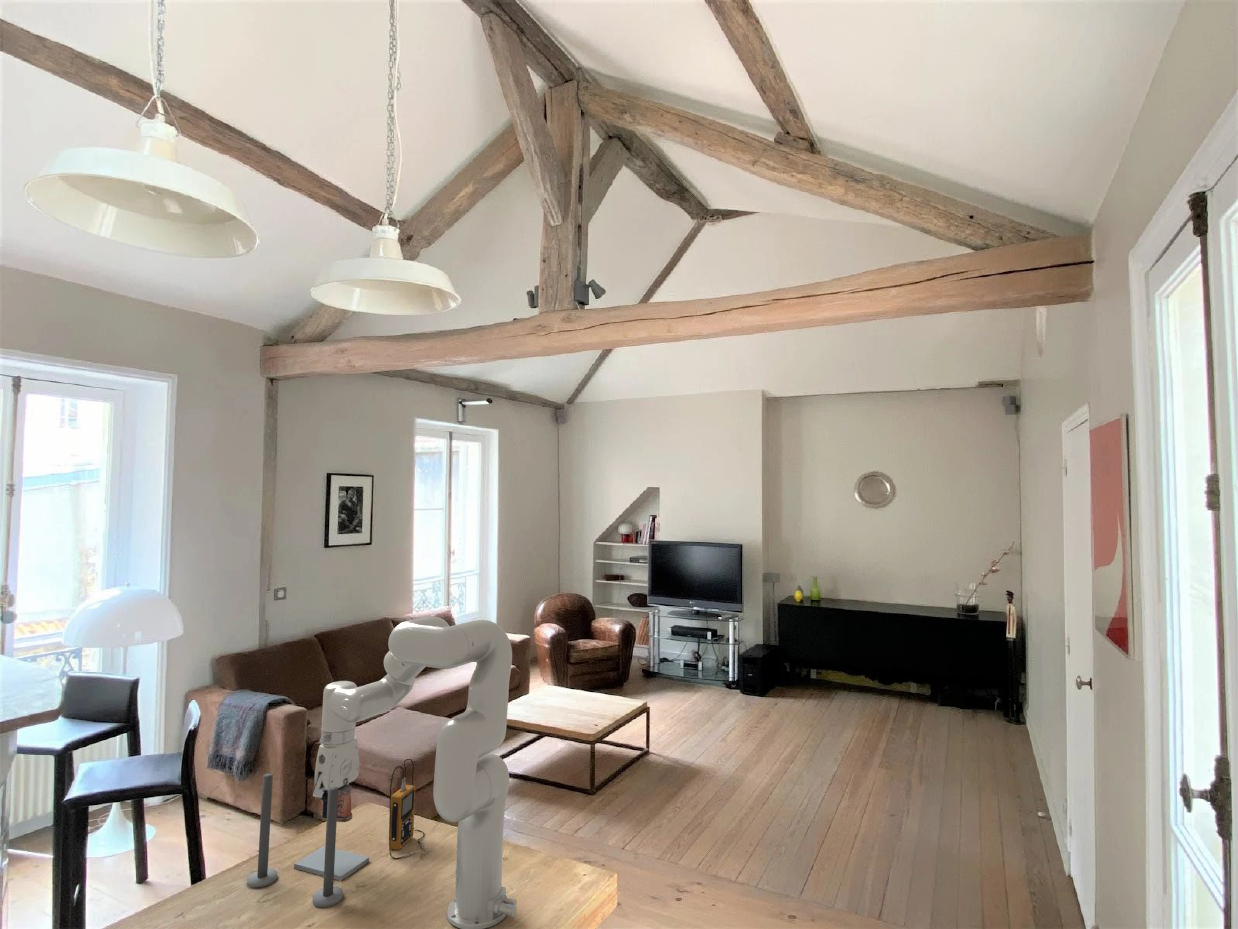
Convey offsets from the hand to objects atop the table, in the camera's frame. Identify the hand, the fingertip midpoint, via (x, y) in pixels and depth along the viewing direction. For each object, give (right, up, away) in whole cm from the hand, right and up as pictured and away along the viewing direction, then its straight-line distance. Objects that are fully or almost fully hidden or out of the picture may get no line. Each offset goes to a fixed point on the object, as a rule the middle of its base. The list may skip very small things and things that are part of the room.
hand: (334, 814), depth 156 cm
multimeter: (+16, -13, +9) cm, 23 cm away
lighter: (0, -1, +1) cm, 2 cm away
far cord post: (-13, -11, -8) cm, 19 cm away
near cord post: (+5, -11, -14) cm, 19 cm away
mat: (0, -11, -1) cm, 11 cm away
